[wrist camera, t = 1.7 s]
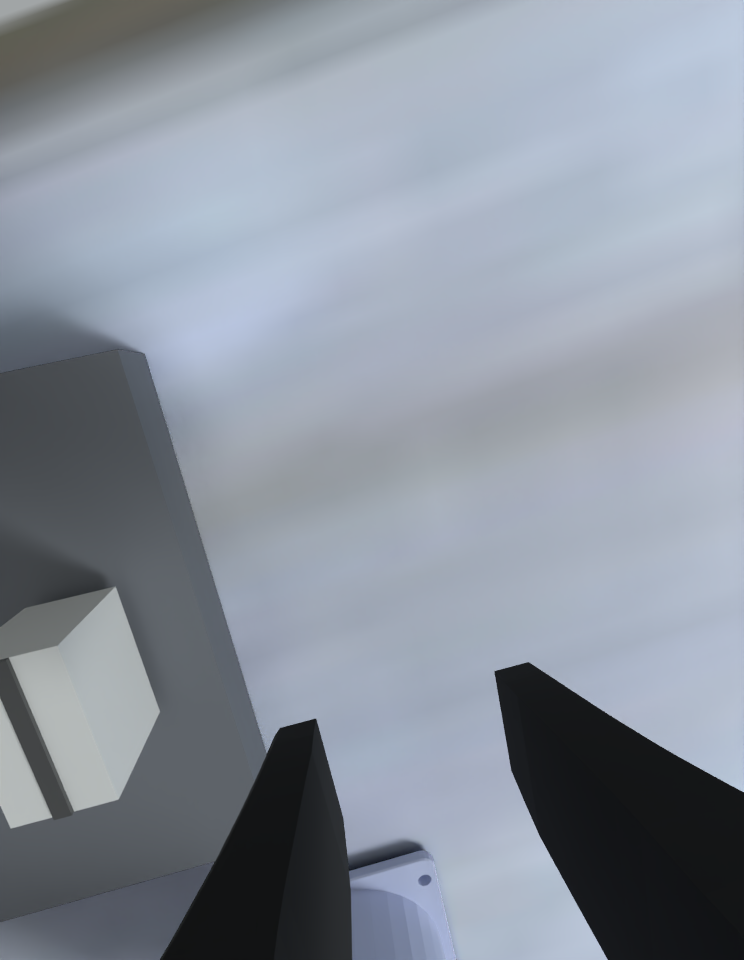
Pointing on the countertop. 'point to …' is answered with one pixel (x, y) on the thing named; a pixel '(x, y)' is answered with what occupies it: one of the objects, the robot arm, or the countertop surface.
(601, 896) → the robot arm
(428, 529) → the countertop surface
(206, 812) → the panel
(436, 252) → the countertop surface
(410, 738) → the countertop surface
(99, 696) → the fader
